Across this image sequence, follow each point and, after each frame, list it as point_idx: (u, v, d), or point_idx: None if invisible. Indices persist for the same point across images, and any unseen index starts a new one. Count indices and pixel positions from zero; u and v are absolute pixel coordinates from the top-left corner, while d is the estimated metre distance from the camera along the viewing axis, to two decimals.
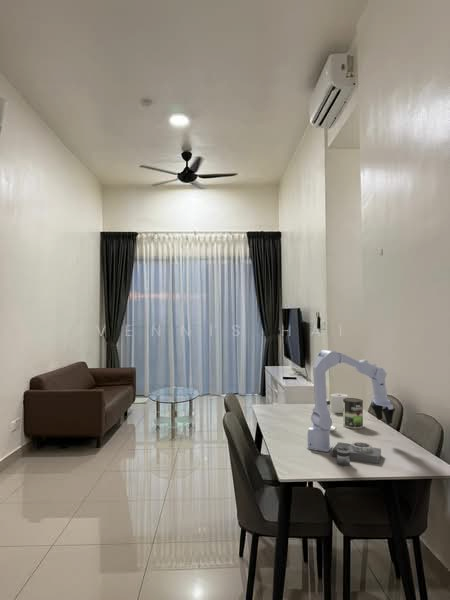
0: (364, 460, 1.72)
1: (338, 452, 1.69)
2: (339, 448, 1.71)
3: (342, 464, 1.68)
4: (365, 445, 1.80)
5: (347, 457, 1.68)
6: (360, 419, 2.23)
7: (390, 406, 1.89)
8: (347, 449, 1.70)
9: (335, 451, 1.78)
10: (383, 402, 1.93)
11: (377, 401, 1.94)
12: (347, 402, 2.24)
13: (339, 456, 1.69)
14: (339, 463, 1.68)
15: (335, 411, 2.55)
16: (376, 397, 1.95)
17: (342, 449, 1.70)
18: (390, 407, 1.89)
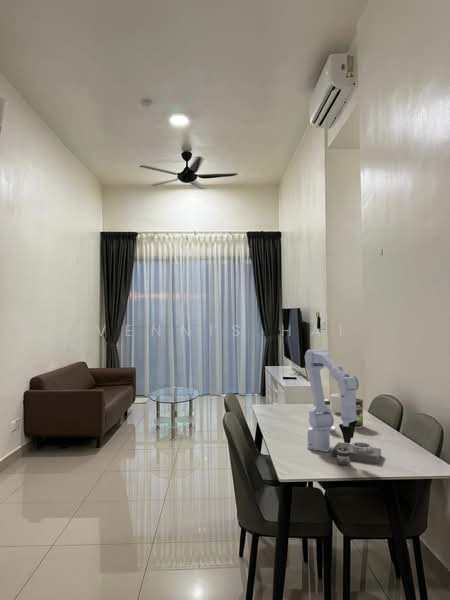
0: (364, 460, 1.72)
1: (338, 452, 1.69)
2: (339, 448, 1.71)
3: (342, 464, 1.68)
4: (365, 445, 1.80)
5: (347, 457, 1.68)
6: (360, 419, 2.23)
7: (344, 422, 1.64)
8: (347, 449, 1.70)
9: (335, 451, 1.78)
10: (345, 417, 1.68)
11: (341, 414, 1.71)
12: None
13: (339, 456, 1.69)
14: (339, 463, 1.68)
15: (335, 411, 2.55)
16: (341, 410, 1.71)
17: (342, 449, 1.70)
18: (344, 423, 1.64)
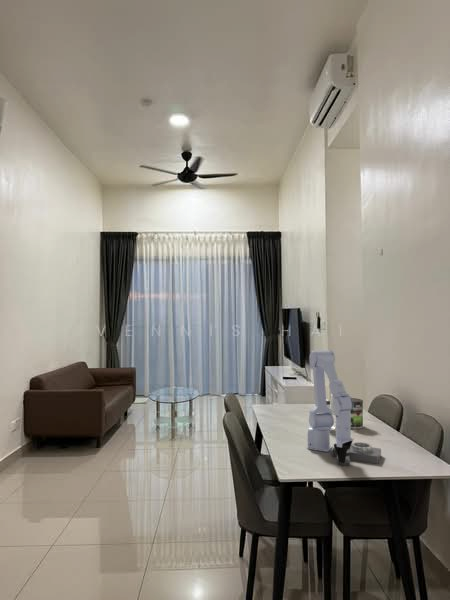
0: (364, 460, 1.72)
1: None
2: None
3: (342, 464, 1.68)
4: (365, 445, 1.80)
5: (347, 457, 1.68)
6: (360, 419, 2.23)
7: (338, 443, 1.64)
8: None
9: (335, 451, 1.78)
10: (339, 437, 1.68)
11: (336, 434, 1.71)
12: None
13: None
14: (339, 463, 1.68)
15: None
16: (336, 430, 1.71)
17: None
18: (338, 444, 1.64)
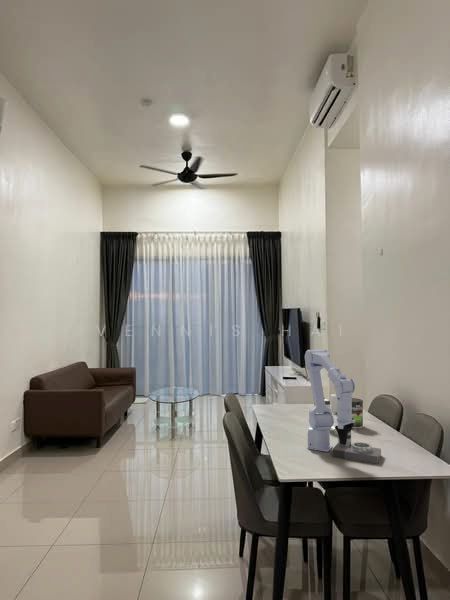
0: (364, 460, 1.72)
1: None
2: None
3: (343, 446, 1.68)
4: (365, 445, 1.80)
5: (348, 439, 1.68)
6: (360, 419, 2.23)
7: (339, 425, 1.65)
8: (348, 432, 1.70)
9: (335, 451, 1.78)
10: (341, 420, 1.69)
11: (337, 417, 1.71)
12: None
13: None
14: (340, 445, 1.69)
15: (335, 411, 2.55)
16: (337, 412, 1.72)
17: None
18: (339, 426, 1.65)
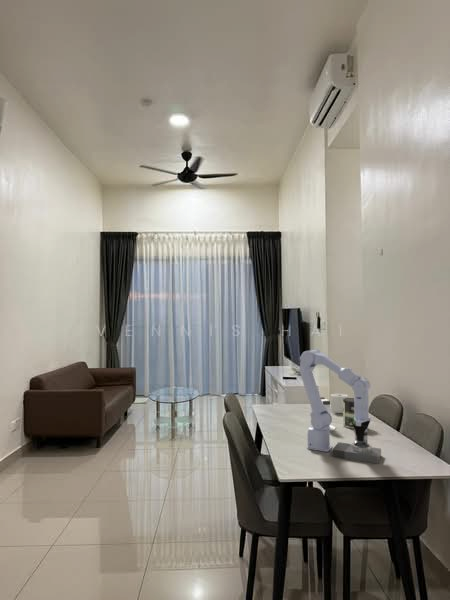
0: (364, 460, 1.72)
1: None
2: None
3: (361, 443, 1.76)
4: (365, 445, 1.80)
5: (365, 436, 1.76)
6: None
7: (357, 422, 1.72)
8: None
9: (335, 451, 1.78)
10: (358, 417, 1.77)
11: (354, 415, 1.79)
12: (347, 402, 2.24)
13: None
14: (358, 442, 1.77)
15: (335, 411, 2.55)
16: (354, 410, 1.79)
17: None
18: (357, 423, 1.72)
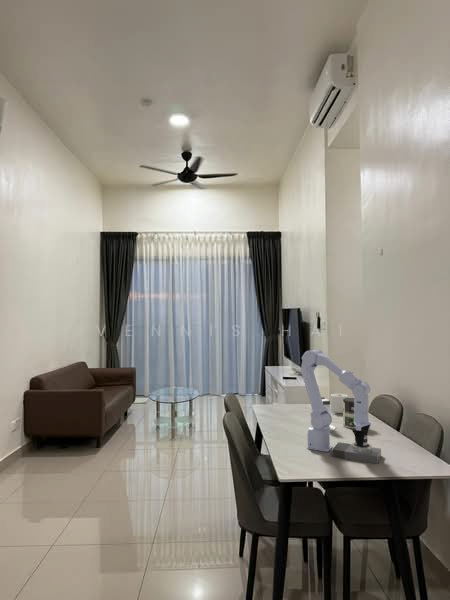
0: (364, 460, 1.72)
1: None
2: None
3: None
4: None
5: (365, 443, 1.76)
6: None
7: (357, 427, 1.72)
8: (365, 435, 1.78)
9: (335, 451, 1.78)
10: (358, 422, 1.76)
11: (354, 419, 1.79)
12: (347, 402, 2.24)
13: None
14: None
15: (335, 411, 2.55)
16: (354, 414, 1.79)
17: None
18: (357, 428, 1.72)
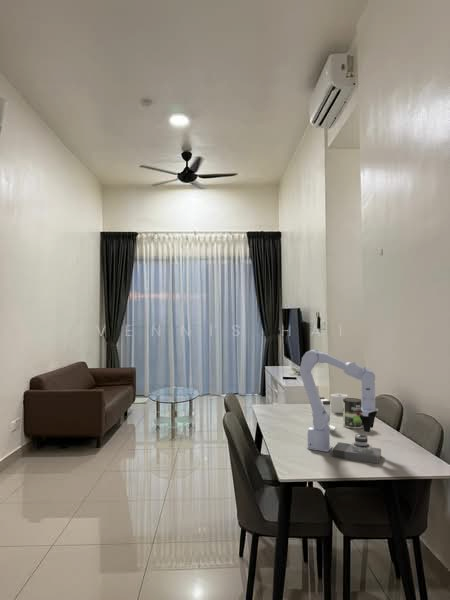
0: (364, 460, 1.72)
1: (357, 438, 1.77)
2: (357, 435, 1.79)
3: None
4: None
5: (365, 443, 1.76)
6: (360, 419, 2.23)
7: (364, 412, 1.76)
8: (365, 435, 1.78)
9: (335, 451, 1.78)
10: (365, 408, 1.80)
11: (361, 405, 1.83)
12: (347, 402, 2.24)
13: (358, 442, 1.77)
14: None
15: (335, 411, 2.55)
16: (361, 401, 1.83)
17: (360, 435, 1.78)
18: (364, 413, 1.76)
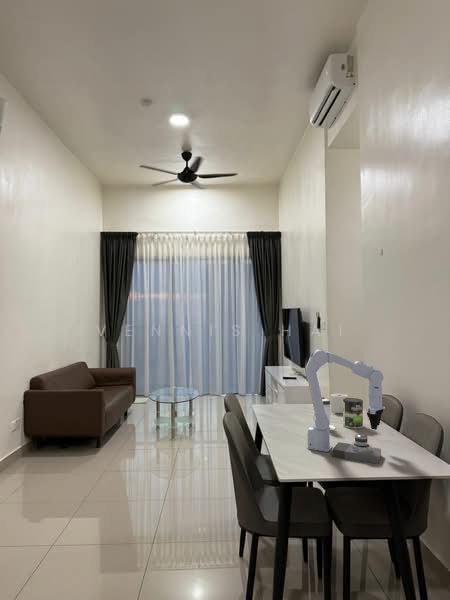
0: (364, 460, 1.72)
1: (357, 438, 1.77)
2: (357, 435, 1.79)
3: None
4: None
5: (365, 443, 1.76)
6: (360, 419, 2.23)
7: (371, 410, 1.80)
8: (365, 435, 1.78)
9: (335, 451, 1.78)
10: (372, 406, 1.84)
11: None
12: (347, 402, 2.24)
13: (358, 442, 1.77)
14: None
15: (335, 411, 2.55)
16: (368, 399, 1.87)
17: (360, 435, 1.78)
18: (371, 411, 1.80)
